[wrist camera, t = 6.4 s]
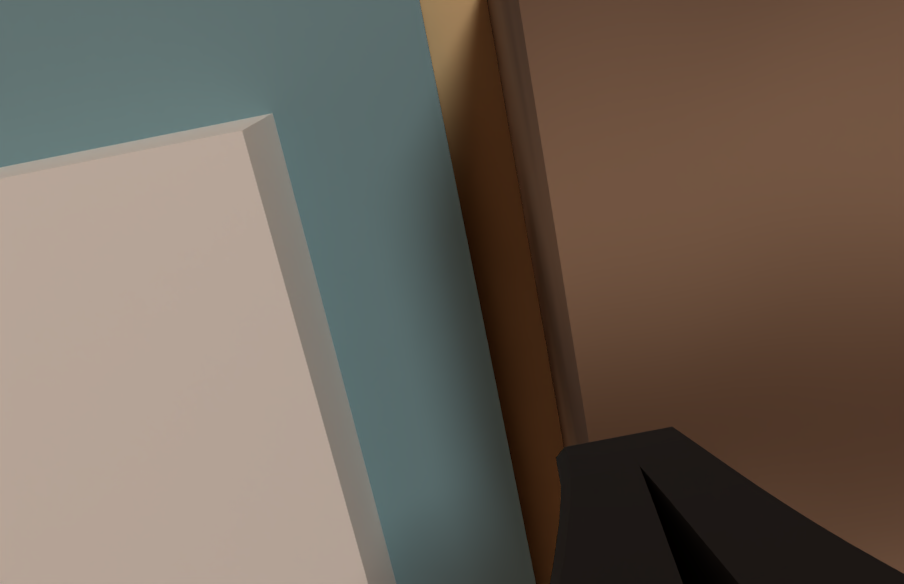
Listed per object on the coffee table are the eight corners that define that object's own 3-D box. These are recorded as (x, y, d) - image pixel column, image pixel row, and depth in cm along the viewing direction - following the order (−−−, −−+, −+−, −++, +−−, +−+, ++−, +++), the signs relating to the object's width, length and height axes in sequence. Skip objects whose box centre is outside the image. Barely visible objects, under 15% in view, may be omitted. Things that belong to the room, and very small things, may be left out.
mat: (558, 696, 16) (563, 721, 15) (99, 779, 16) (87, 806, 16) (389, -154, 11) (386, -164, 10) (-282, -6, 11) (-320, -7, 11)
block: (39, 742, 13) (90, 650, 15) (394, 681, 12) (399, 594, 14) (-219, 222, 10) (-114, 190, 12) (241, 130, 9) (272, 113, 11)
